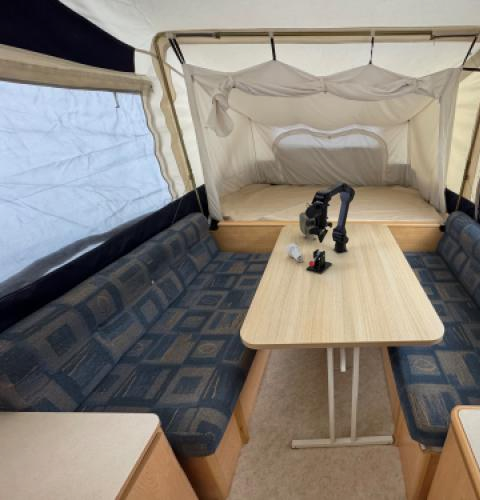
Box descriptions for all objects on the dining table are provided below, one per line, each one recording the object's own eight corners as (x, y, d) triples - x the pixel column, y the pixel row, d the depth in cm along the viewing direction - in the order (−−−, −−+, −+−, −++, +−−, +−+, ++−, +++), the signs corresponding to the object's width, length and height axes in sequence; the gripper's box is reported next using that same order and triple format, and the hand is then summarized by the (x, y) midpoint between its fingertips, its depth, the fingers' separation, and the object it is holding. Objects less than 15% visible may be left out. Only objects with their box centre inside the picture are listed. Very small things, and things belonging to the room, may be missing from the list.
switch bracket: (320, 274, 141) (320, 257, 137) (306, 269, 145) (306, 253, 141) (331, 264, 150) (331, 249, 146) (318, 261, 154) (318, 245, 150)
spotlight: (298, 251, 163) (296, 240, 158) (307, 261, 156) (305, 250, 151) (286, 256, 160) (284, 245, 155) (295, 266, 153) (293, 256, 147)
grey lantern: (318, 240, 182) (317, 205, 171) (305, 242, 179) (304, 206, 168) (311, 233, 194) (310, 199, 183) (299, 234, 191) (298, 200, 180)
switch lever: (313, 268, 138) (312, 264, 136) (308, 266, 140) (307, 262, 138) (323, 255, 145) (322, 251, 143) (318, 254, 147) (317, 250, 145)
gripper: (315, 209, 152) (314, 235, 158) (300, 216, 136) (299, 245, 141) (333, 212, 148) (332, 238, 154) (319, 219, 132) (318, 249, 138)
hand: (320, 242), depth 147 cm, fingers closed
